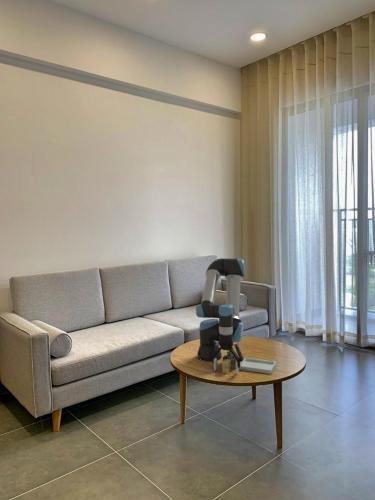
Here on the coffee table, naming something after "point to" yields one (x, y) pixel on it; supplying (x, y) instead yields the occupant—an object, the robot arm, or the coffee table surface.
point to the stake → (229, 355)
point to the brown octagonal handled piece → (228, 364)
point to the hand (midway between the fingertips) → (226, 371)
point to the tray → (257, 365)
